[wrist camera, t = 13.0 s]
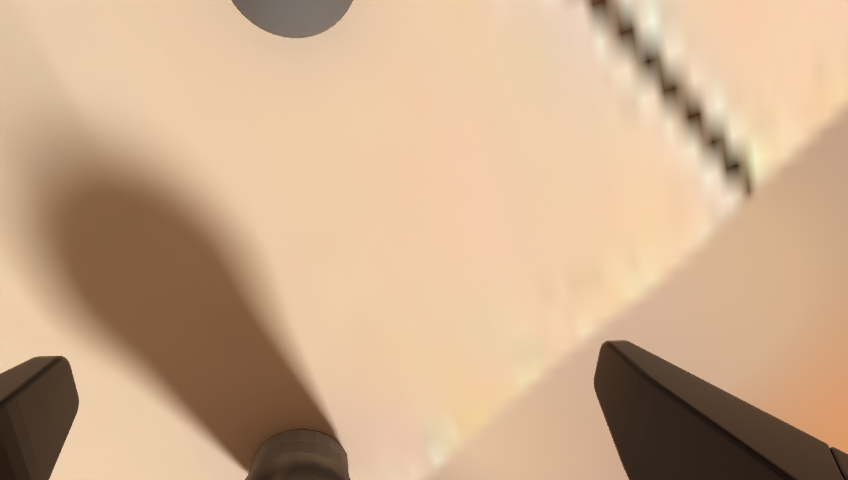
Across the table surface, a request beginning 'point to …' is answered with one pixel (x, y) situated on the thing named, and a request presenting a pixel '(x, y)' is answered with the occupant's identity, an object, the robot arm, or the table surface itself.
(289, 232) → the table surface
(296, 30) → the grey ball
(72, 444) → the table surface
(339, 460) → the beverage cup
